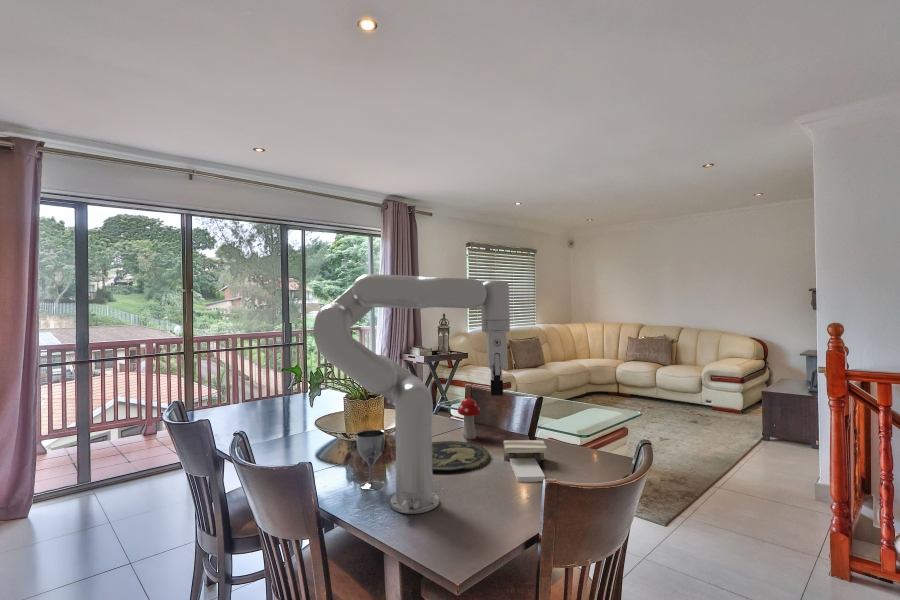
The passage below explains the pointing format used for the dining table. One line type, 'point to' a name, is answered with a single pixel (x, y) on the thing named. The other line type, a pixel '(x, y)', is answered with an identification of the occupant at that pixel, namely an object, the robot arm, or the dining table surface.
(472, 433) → the decorative mushroom
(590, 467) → the dining table surface
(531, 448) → the low shelf
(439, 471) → the decorative plate
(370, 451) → the wine glass
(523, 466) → the tile
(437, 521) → the dining table surface
